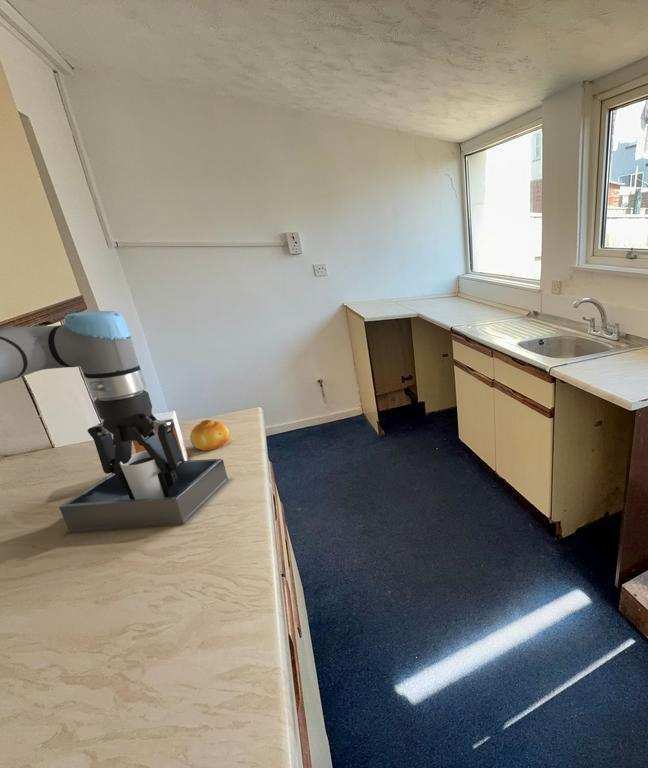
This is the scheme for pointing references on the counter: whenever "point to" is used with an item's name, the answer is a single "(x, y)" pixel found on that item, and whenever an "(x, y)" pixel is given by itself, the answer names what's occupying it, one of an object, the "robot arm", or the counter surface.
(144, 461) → the white cup
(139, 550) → the counter surface
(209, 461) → the tray
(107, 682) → the counter surface
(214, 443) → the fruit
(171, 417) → the small box
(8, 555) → the counter surface
